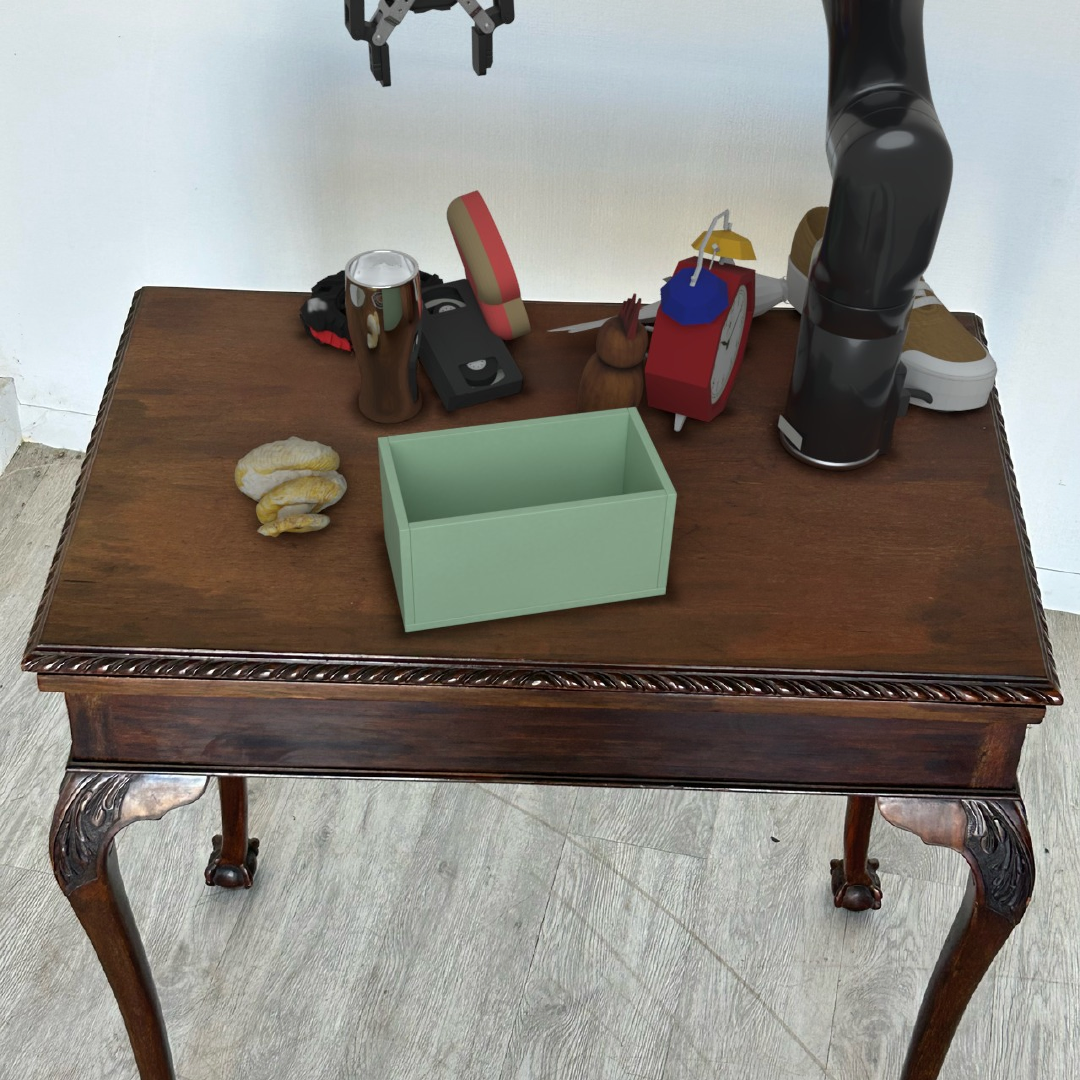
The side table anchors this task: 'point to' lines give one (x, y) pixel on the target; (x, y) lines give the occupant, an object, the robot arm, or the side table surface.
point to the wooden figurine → (616, 363)
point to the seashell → (291, 484)
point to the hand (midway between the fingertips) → (432, 77)
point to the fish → (765, 287)
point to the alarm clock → (701, 328)
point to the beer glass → (385, 332)
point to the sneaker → (913, 334)
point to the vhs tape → (463, 348)
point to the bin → (525, 517)
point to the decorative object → (487, 266)
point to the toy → (337, 310)
